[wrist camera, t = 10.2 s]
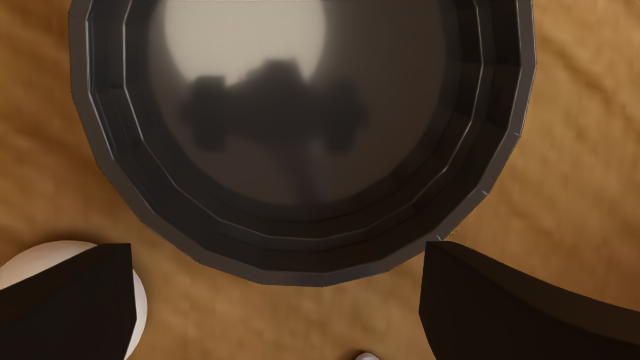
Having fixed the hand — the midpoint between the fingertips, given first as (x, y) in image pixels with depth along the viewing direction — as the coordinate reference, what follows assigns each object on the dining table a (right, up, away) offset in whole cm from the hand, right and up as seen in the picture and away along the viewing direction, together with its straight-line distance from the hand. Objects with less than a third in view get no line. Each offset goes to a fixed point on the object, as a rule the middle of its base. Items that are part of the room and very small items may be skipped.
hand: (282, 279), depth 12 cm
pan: (0, +7, +8) cm, 10 cm away
